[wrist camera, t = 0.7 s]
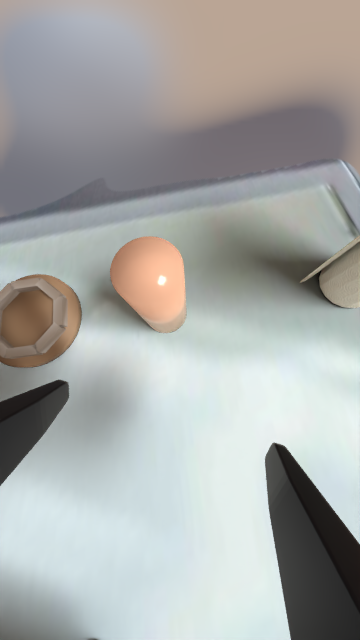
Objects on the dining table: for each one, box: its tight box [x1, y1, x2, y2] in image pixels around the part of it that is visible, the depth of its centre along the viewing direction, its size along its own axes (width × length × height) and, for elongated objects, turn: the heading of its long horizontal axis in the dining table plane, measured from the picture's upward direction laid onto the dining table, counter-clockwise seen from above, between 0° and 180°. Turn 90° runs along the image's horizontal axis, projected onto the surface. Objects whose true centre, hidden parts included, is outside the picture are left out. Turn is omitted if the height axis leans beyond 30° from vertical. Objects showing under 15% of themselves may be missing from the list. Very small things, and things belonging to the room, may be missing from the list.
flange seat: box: [0, 274, 82, 367], centre depth 22 cm, size 11×11×2 cm
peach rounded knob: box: [110, 237, 187, 333], centre depth 18 cm, size 5×5×10 cm
